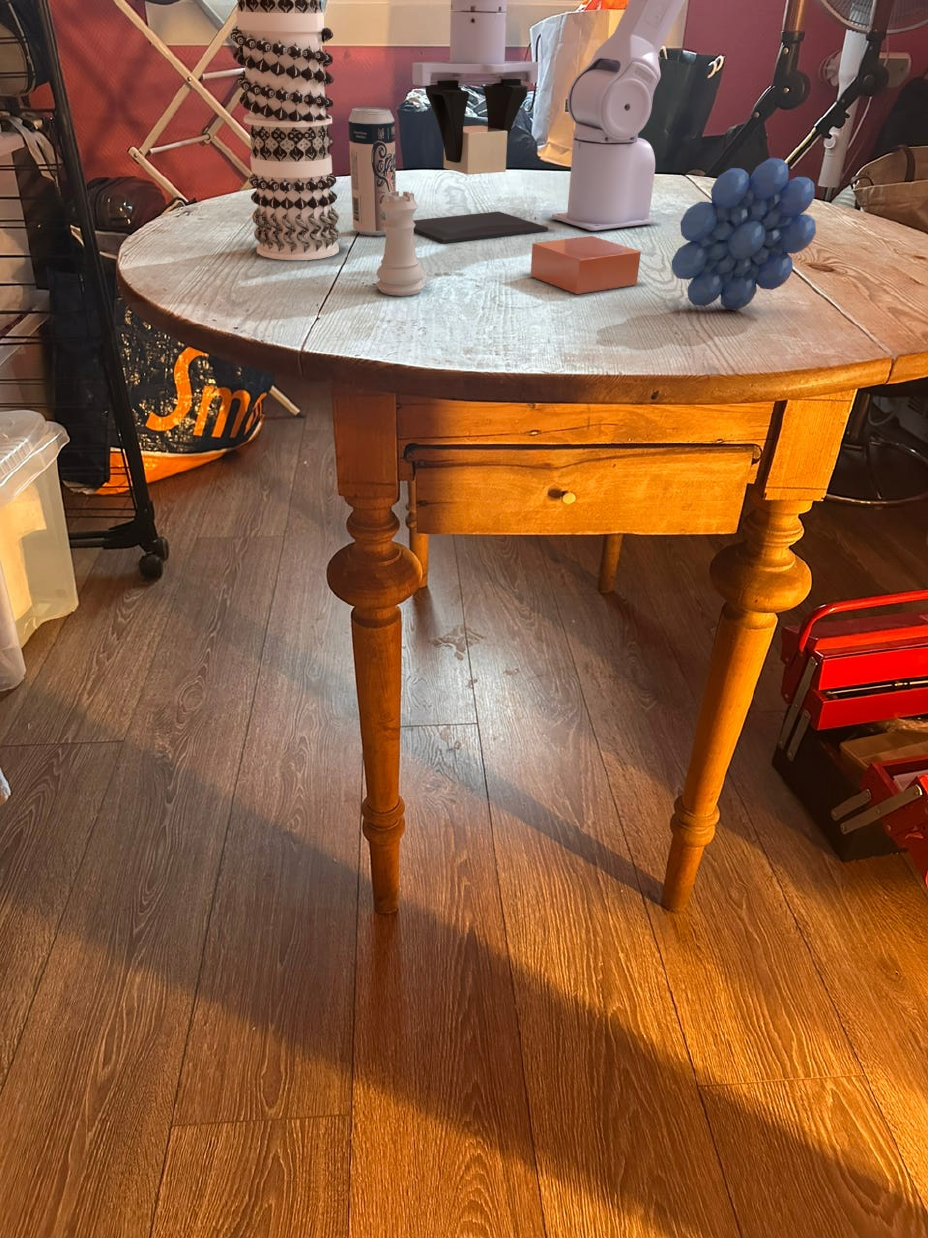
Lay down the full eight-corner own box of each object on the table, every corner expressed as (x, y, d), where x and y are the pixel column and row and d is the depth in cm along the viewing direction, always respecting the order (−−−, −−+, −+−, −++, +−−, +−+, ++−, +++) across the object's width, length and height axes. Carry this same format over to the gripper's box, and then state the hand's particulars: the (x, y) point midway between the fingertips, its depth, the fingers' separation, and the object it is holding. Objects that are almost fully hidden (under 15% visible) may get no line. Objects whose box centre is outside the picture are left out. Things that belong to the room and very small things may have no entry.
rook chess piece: (375, 283, 85) (372, 188, 80) (424, 283, 85) (423, 189, 81) (375, 296, 81) (372, 198, 77) (426, 296, 81) (426, 198, 77)
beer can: (390, 238, 100) (387, 112, 93) (347, 235, 101) (342, 110, 94) (401, 228, 104) (399, 108, 97) (360, 226, 105) (355, 105, 98)
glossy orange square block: (588, 267, 91) (591, 235, 90) (637, 284, 86) (641, 251, 85) (530, 275, 88) (532, 242, 86) (576, 294, 83) (579, 259, 81)
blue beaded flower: (782, 297, 84) (813, 151, 77) (806, 319, 78) (842, 163, 72) (655, 294, 84) (675, 147, 77) (671, 316, 78) (694, 160, 71)
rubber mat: (498, 214, 112) (498, 211, 112) (547, 230, 105) (548, 227, 105) (397, 225, 105) (397, 221, 105) (443, 243, 99) (443, 239, 98)
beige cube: (480, 164, 105) (482, 125, 102) (505, 171, 101) (507, 130, 99) (443, 167, 102) (443, 127, 100) (467, 174, 99) (468, 132, 97)
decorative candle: (286, 236, 100) (263, -49, 85) (360, 246, 96) (348, -48, 82) (233, 253, 93) (199, -54, 79) (310, 265, 90) (288, -53, 75)
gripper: (437, 11, 87) (436, 169, 95) (559, 13, 94) (549, 160, 102) (401, 9, 92) (403, 159, 100) (519, 11, 99) (512, 152, 107)
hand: (474, 159), depth 101 cm, fingers closed on beige cube, 5 cm apart
